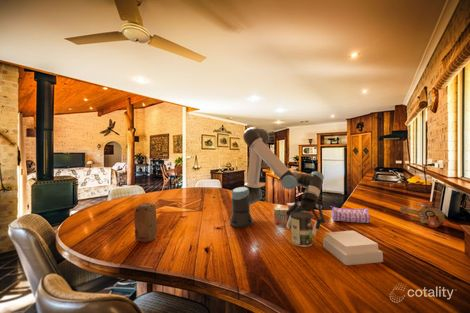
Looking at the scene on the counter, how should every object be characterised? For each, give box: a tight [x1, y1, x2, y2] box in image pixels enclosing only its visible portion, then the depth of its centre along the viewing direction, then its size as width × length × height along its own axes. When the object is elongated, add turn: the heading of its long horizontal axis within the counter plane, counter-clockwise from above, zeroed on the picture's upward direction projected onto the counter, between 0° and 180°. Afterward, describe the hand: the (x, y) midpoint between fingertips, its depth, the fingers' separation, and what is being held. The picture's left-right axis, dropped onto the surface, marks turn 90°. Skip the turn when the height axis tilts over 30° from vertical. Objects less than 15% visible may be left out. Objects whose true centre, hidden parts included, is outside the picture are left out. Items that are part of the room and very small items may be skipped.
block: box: [133, 202, 158, 243], centre depth 105 cm, size 11×8×20 cm
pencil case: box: [330, 205, 371, 224], centre depth 122 cm, size 22×9×10 cm, turn 75°
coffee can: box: [290, 212, 313, 248], centre depth 96 cm, size 10×10×14 cm
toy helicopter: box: [399, 201, 446, 228], centre depth 116 cm, size 8×21×14 cm, turn 23°
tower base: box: [322, 230, 384, 266], centre depth 83 cm, size 16×16×7 cm
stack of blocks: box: [273, 202, 310, 225], centre depth 124 cm, size 21×6×12 cm, turn 86°
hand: (299, 230), depth 94 cm, fingers open, 13 cm apart
